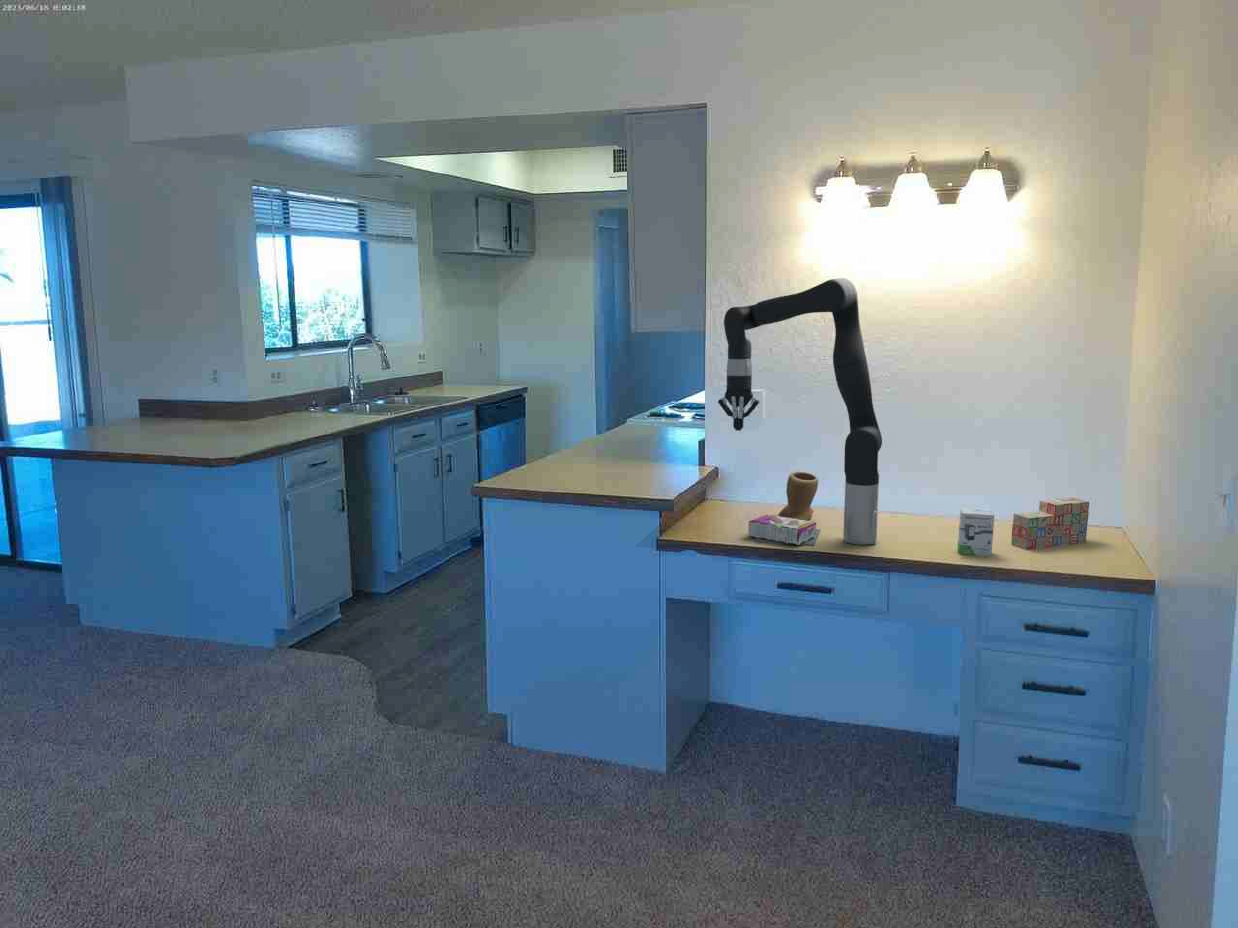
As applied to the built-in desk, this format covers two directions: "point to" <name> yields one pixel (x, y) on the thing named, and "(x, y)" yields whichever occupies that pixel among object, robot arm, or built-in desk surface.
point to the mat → (808, 543)
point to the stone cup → (800, 495)
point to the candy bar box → (782, 529)
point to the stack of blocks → (1051, 524)
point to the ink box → (976, 532)
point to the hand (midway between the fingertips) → (738, 430)
